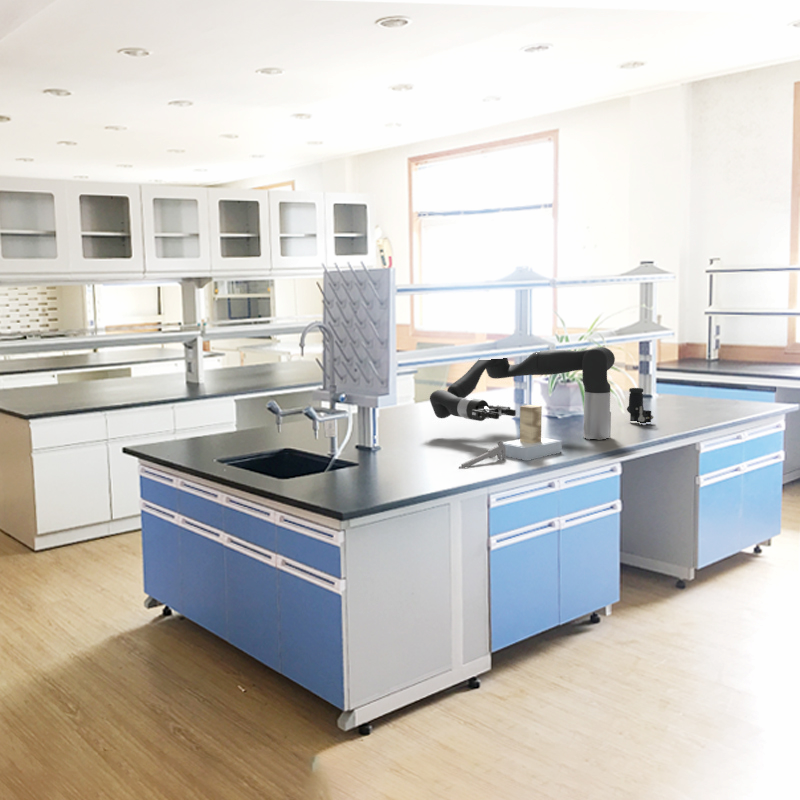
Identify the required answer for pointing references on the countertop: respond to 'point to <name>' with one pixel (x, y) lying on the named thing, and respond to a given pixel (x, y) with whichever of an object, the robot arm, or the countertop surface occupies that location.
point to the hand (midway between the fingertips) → (506, 414)
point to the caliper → (488, 455)
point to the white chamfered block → (532, 448)
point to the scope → (638, 406)
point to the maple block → (530, 423)
